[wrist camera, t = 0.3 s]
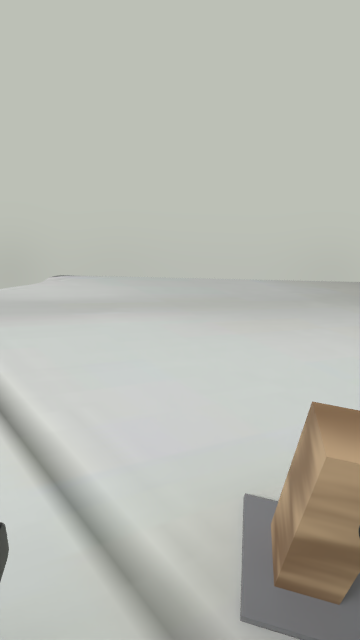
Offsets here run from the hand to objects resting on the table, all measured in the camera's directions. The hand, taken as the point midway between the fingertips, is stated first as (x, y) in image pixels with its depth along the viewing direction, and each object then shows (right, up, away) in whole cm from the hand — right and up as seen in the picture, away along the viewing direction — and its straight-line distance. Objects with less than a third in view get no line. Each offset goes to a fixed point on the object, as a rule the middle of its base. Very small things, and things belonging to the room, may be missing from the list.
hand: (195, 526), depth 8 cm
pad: (+8, -12, +14) cm, 20 cm away
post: (+8, -12, +14) cm, 20 cm away
